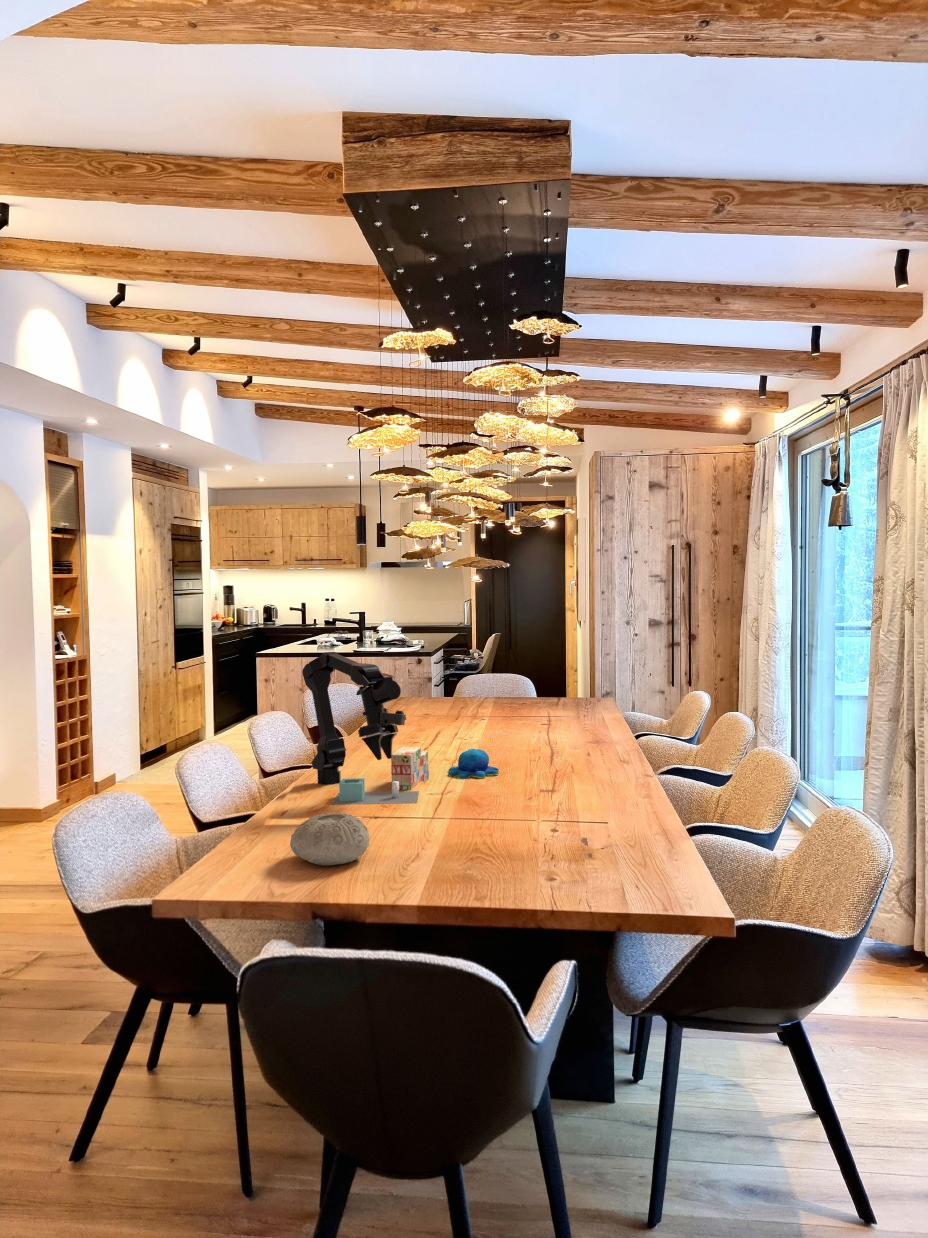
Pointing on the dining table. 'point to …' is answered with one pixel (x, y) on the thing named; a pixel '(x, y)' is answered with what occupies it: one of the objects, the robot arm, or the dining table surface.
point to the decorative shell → (330, 839)
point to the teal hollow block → (352, 789)
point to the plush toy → (473, 765)
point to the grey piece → (383, 797)
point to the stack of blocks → (409, 767)
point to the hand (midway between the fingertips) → (384, 759)
